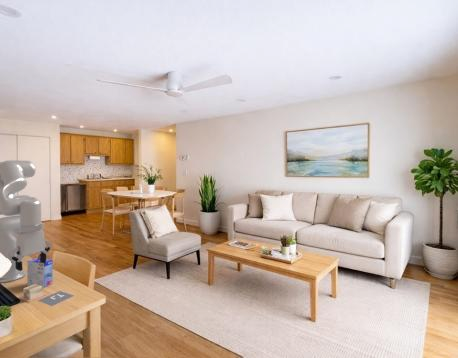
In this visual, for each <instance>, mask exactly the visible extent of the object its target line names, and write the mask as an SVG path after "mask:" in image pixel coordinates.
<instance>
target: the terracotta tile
mask: <svg viewBox="0 0 458 358" xmlns="http://www.w3.org/2000/svg"><path fill="white" fill-rule="evenodd" d="M44 297H47V294H46V293H44V292H42V295H41V296H39V297H36V298H34V299H31V300H30V299H27V298H24V296H20V297H19V300H22V301H24V302H27V303H31V302H34V301H36V300H40V299H42V298H44Z"/></svg>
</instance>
